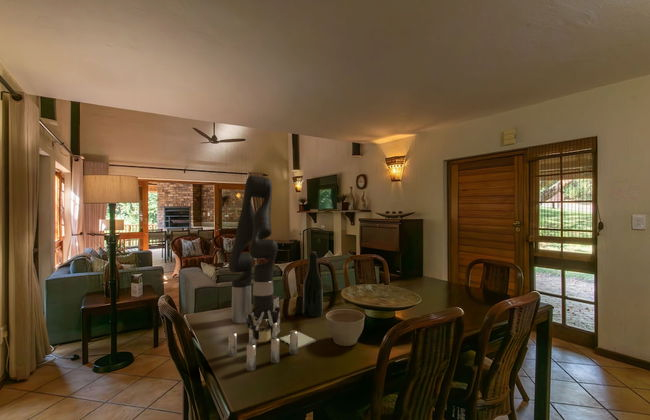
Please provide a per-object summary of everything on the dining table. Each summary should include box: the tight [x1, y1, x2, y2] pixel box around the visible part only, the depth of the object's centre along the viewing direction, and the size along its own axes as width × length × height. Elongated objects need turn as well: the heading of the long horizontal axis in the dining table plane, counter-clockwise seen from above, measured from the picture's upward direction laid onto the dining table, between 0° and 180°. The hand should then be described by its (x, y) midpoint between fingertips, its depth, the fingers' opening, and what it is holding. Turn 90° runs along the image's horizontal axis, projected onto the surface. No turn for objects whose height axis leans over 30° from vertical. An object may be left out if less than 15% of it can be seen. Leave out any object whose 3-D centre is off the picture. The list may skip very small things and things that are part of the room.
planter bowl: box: [325, 308, 366, 347], centre depth 127 cm, size 16×16×11 cm
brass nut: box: [255, 327, 271, 343], centre depth 116 cm, size 6×5×4 cm
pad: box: [279, 331, 317, 349], centre depth 128 cm, size 12×10×1 cm
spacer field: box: [228, 323, 299, 372], centre depth 116 cm, size 19×21×8 cm
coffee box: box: [257, 295, 281, 335], centre depth 136 cm, size 9×6×16 cm
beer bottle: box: [302, 251, 324, 318], centre depth 161 cm, size 10×10×33 cm
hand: (262, 337), depth 116 cm, fingers closed on brass nut, 5 cm apart
